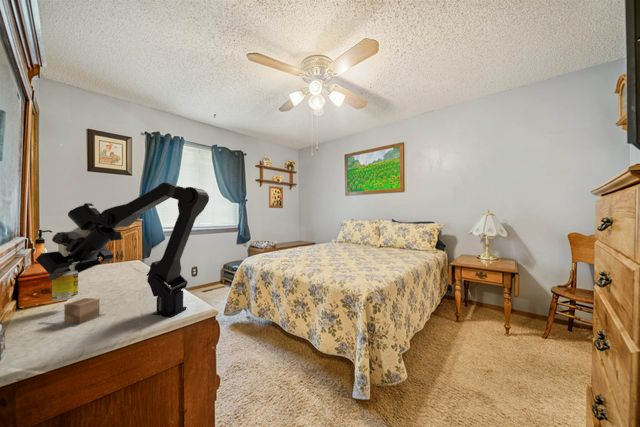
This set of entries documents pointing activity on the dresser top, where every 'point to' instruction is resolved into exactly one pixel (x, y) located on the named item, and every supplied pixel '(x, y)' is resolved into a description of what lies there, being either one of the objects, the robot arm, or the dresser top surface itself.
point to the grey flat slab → (60, 321)
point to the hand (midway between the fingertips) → (61, 276)
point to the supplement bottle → (65, 285)
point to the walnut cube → (81, 311)
